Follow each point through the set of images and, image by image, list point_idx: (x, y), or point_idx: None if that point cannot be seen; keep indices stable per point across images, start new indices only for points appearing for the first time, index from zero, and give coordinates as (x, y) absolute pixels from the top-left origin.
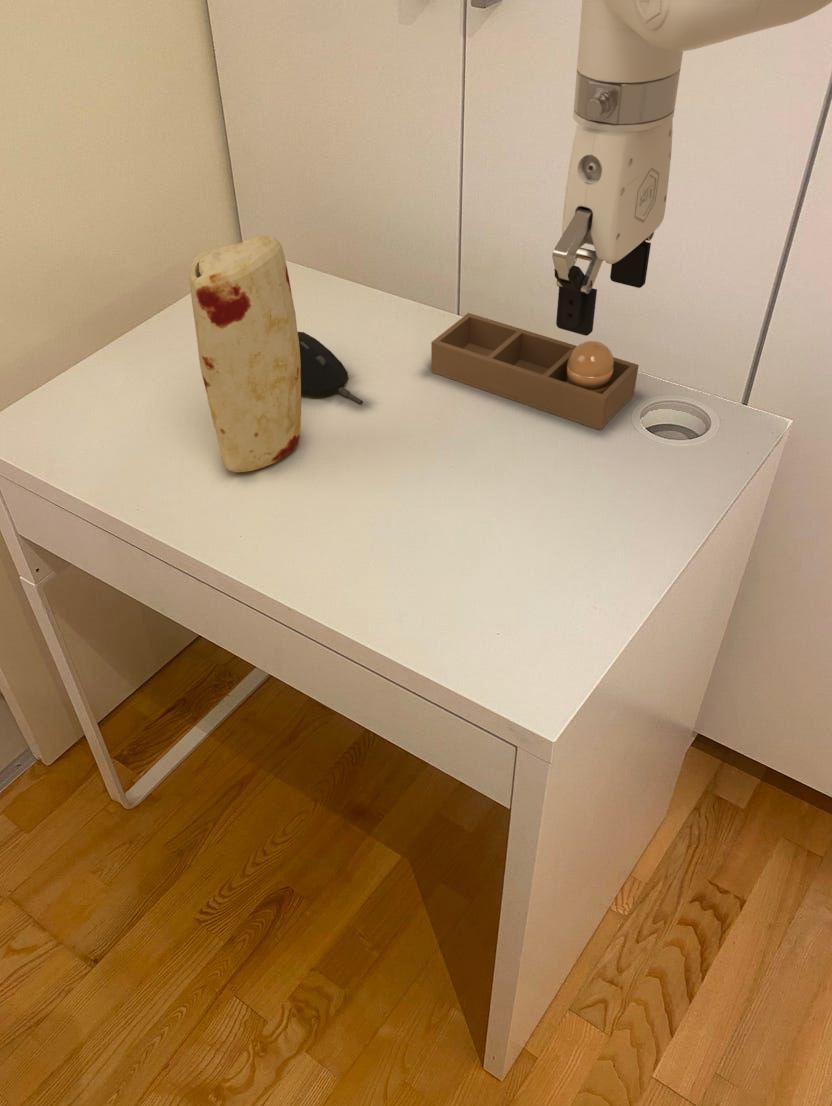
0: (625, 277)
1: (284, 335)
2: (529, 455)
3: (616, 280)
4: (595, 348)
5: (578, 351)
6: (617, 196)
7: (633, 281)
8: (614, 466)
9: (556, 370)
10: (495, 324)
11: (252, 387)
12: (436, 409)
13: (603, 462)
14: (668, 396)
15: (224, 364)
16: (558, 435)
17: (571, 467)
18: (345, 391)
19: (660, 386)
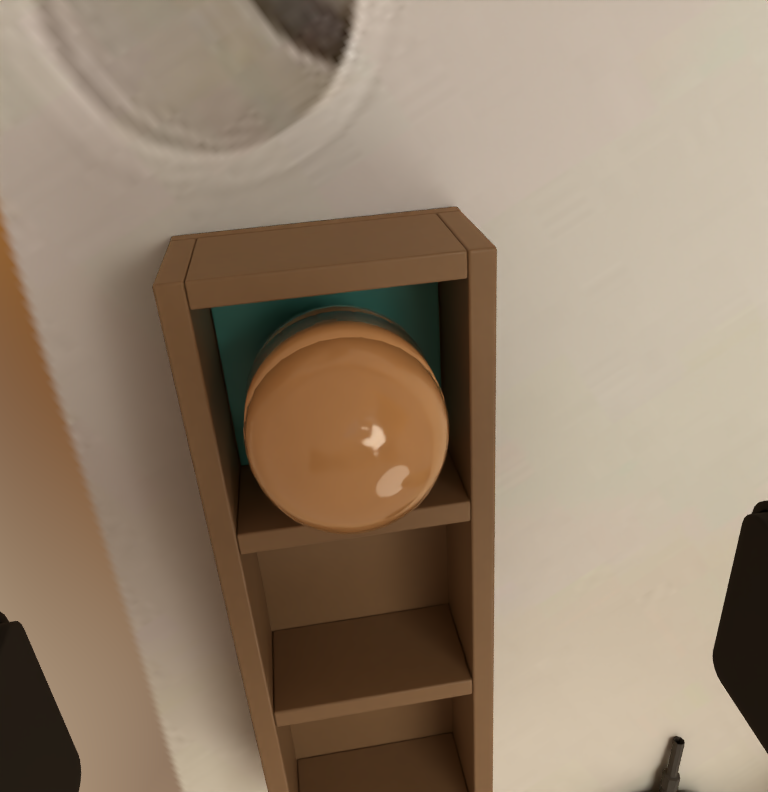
0: (39, 742)
1: None
2: (701, 311)
3: (70, 750)
4: (376, 462)
5: (414, 504)
6: None
7: (20, 683)
8: (635, 24)
9: None
10: (288, 784)
11: None
12: (611, 623)
13: (630, 77)
14: (61, 114)
15: None
16: (557, 305)
17: (707, 159)
18: (677, 786)
19: (23, 187)
